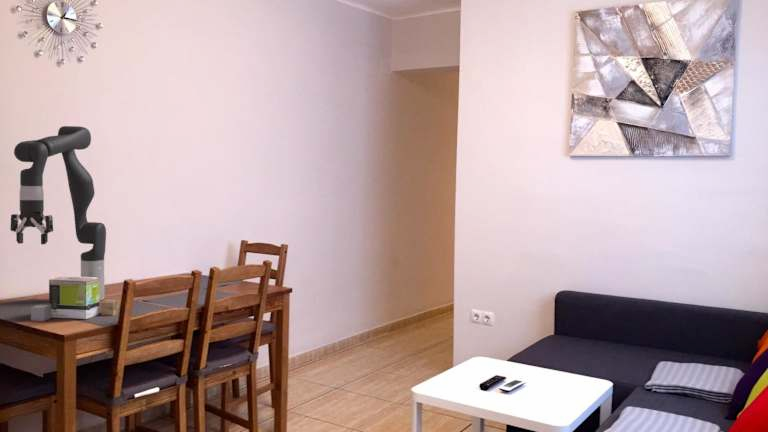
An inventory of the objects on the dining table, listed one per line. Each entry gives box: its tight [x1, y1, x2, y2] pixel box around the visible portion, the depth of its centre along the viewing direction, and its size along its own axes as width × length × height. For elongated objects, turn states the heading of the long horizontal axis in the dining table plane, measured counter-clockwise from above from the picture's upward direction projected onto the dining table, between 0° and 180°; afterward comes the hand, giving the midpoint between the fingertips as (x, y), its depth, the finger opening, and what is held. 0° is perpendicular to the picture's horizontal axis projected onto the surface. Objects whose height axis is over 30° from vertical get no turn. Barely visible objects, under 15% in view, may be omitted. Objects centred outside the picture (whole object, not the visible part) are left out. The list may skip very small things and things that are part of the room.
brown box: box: [100, 299, 120, 316], centre depth 256 cm, size 5×5×5 cm
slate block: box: [30, 304, 53, 322], centre depth 244 cm, size 5×5×5 cm
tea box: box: [48, 275, 101, 320], centre depth 250 cm, size 15×10×15 cm, turn 84°
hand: (32, 243), depth 234 cm, fingers open, 8 cm apart
